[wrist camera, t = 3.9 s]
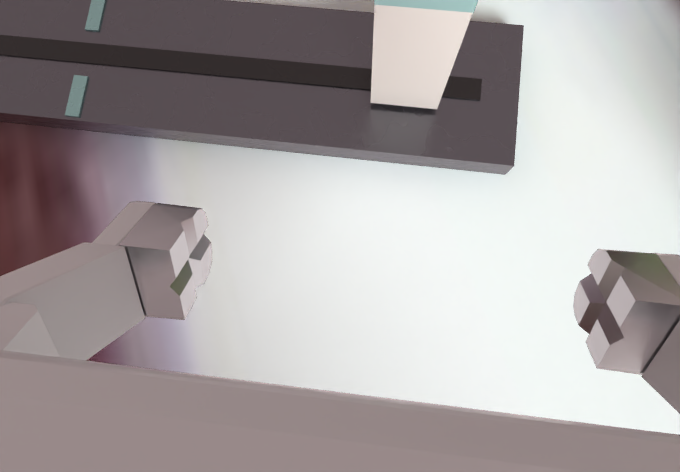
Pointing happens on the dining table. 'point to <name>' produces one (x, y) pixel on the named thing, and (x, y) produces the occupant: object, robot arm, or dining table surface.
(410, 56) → the fader knob
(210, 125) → the fader track
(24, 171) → the dining table surface
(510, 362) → the dining table surface
